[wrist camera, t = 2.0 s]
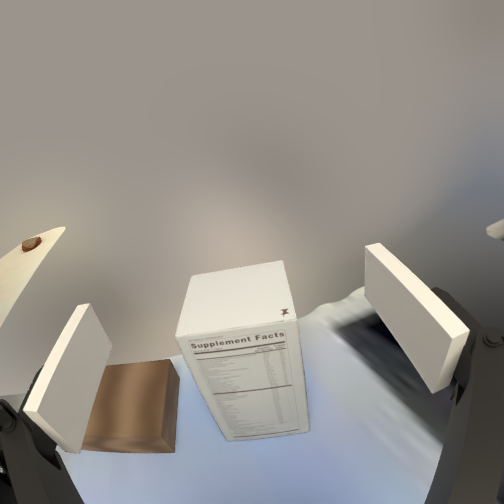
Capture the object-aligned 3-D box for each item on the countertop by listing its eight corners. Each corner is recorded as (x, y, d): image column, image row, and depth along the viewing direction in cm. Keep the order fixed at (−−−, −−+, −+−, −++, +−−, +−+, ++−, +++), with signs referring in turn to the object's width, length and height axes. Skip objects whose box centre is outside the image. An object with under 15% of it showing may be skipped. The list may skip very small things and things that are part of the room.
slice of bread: (28, 242, 127) (25, 236, 125) (50, 235, 127) (48, 228, 125) (10, 257, 111) (7, 251, 109) (33, 250, 111) (30, 243, 109)
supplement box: (300, 372, 36) (287, 256, 28) (311, 432, 27) (303, 317, 20) (227, 382, 36) (189, 272, 29) (224, 442, 28) (170, 335, 21)
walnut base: (66, 447, 27) (48, 431, 25) (85, 385, 38) (73, 367, 36) (174, 452, 27) (160, 436, 25) (179, 378, 38) (169, 358, 36)
